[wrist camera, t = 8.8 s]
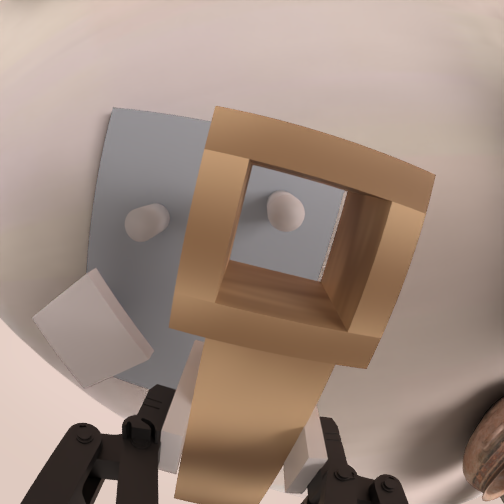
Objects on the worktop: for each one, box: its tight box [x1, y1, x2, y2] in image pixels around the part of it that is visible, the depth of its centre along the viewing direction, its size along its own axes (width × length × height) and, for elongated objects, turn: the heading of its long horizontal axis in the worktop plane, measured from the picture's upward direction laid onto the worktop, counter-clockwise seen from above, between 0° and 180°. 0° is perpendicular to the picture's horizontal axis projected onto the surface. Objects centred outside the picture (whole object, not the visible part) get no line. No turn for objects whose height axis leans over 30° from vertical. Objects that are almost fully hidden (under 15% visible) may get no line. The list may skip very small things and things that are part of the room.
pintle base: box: [32, 107, 344, 389], centre depth 23 cm, size 26×21×9 cm
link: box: [169, 106, 436, 504], centre depth 13 cm, size 18×7×5 cm, turn 166°
